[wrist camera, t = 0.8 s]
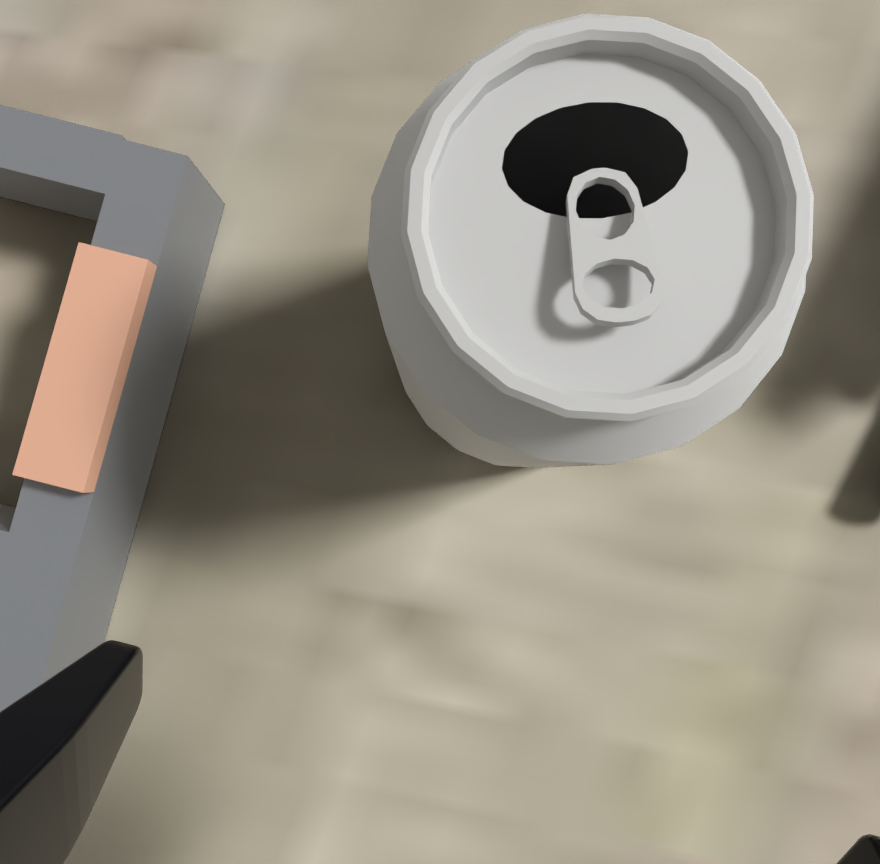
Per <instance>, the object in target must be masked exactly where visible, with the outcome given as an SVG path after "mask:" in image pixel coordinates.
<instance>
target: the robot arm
mask: <svg viewBox="0 0 880 864" xmlns="http://www.w3.org/2000/svg"><path fill="white" fill-rule="evenodd" d="M142 671H143V656H142V651H141V649H140V648H139V647H137V646H134V645H130V644H126V643H122V642H118V641H113V640H110V641H106V642H104V643H102V644H100V645H99V646H97V647H96V648H94V649H93V650H91V651H90V652H88V653H87V654H85V655H84V656H82V657H81V658H79V659H78V660H76V661H75V662H73V663H72V664H70V665H69V666H67V667H66V668H65V669H63V670H62V671H60V672H59V673H57V674H56V675H54V676H53V677H51V678H50V679H48V680H47V681H45V682H44V683H42V684H41V685H39V686H38V687H36V688H35V689H33V690H32V691H30V692H29V693H27V694H26V695H24V696H23V697H21V698H20V699H18V700H17V701H15V702H14V703H12V704H11V705H10V706H8V707H7V708H5V709H4V710H2V711H1V712H0V864H63V863H64V862H65V860H66V858H67V857H68V855H69V853H70V851H71V850H72V848H73V846H74V844H75V842H76V840H77V839H78V837H79V835H80V833H81V831H82V829H83V827H84V825H85V823H86V821H87V819H88V817H89V815H90V812H91V810H92V808H93V806H94V804H95V801H96V799H97V797H98V795H99V793H100V790H101V788H102V786H103V784H104V782H105V779H106V777H107V775H108V773H109V771H110V769H111V766H112V764H113V762H114V760H115V758H116V755H117V753H118V751H119V749H120V747H121V744H122V742H123V740H124V738H125V736H126V733H127V731H128V729H129V727H130V725H131V722H132V720H133V718H134V716H135V714H136V711H137V709H138V706H139V703H140V700H141V696H142ZM837 864H880V837H879V836H875V835H869V834H868V835H864V836H862V837H861V838H860V839H858V841H857V842H856V843H855V844H854V845H853V846H852V847H851V848H850V849H849V851H848V852H847V853H846V854H845V855H844V856H843V857H842V858H841V859H840V860H839V862H838V863H837Z"/></svg>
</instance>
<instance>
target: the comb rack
mask: <svg viewBox="0 0 880 864" xmlns="http://www.w3.org/2000/svg"><path fill="white" fill-rule="evenodd" d="M0 197H3V198H7V199H11V200H15V201H19V202H23V203H27V204H31V205H35V206H39V207H43V208H47V209H51V210H54V211H58V212H62V213H66V214H70V215H74V216H78V217H82V218H86V219H90V220H94V221H97V225H96V228H95V232H94V235H93V239H92V242H91V245H88V244H84V243H80V242H79V243H78V246H77V250H76V253H75V257H74V260H73V264H72V267H71V271H70V274H69V278H68V281H67V285H66V288H65V292H64V295H63V299H62V302H61V306H60V309H59V313H58V316H57V320H56V323H55V327H54V330H53V334H52V337H51V341H50V344H49V348H48V351H47V355H46V358H45V362H44V365H43V369H42V372H41V376H40V379H39V383H38V386H37V390H36V393H35V397H34V400H33V404H32V407H31V411H30V414H29V418H28V421H27V425H26V428H25V432H24V435H23V439H22V442H21V446H20V449H19V453H18V456H17V460H16V463H15V467H14V470H13V474H12V475H15V476H19V477H23V478H24V481H23V485H22V488H21V492H20V495H19V499H18V502H17V506H16V508H14V507H10V506H6V505H3V504H0V712H1V711H2V710H4V709H5V708H7V707H8V706H10V705H11V704H12V703H14V702H15V701H17V700H18V699H20V698H21V697H23V696H24V695H26V694H27V693H29V692H30V691H32V690H33V689H35V688H36V687H38V686H39V685H41V684H42V683H44V682H45V681H47V680H48V679H50V678H51V677H53V676H54V675H56V674H57V673H59V672H60V671H62V670H63V669H65V668H66V667H67V666H69V665H70V664H72V663H73V662H75V661H76V660H78V659H79V658H81V657H82V656H84V655H85V654H87V653H88V652H90V651H91V650H93V649H94V648H96V647H97V646H99V645H100V644H102V643H104V641H105V637H106V633H107V630H108V626H109V623H110V619H111V615H112V612H113V608H114V604H115V601H116V597H117V594H118V590H119V586H120V583H121V579H122V575H123V572H124V568H125V565H126V561H127V557H128V554H129V550H130V546H131V543H132V539H133V535H134V532H135V528H136V525H137V521H138V517H139V514H140V510H141V506H142V503H143V499H144V496H145V492H146V488H147V485H148V481H149V477H150V474H151V470H152V467H153V463H154V459H155V456H156V452H157V448H158V445H159V441H160V438H161V434H162V430H163V427H164V423H165V419H166V416H167V412H168V408H169V405H170V401H171V398H172V394H173V390H174V387H175V383H176V379H177V376H178V372H179V369H180V365H181V361H182V358H183V354H184V350H185V347H186V343H187V340H188V336H189V332H190V329H191V325H192V321H193V318H194V314H195V310H196V307H197V303H198V300H199V296H200V292H201V289H202V285H203V281H204V278H205V274H206V271H207V267H208V263H209V260H210V256H211V252H212V249H213V245H214V242H215V238H216V234H217V231H218V227H219V223H220V220H221V216H222V212H223V209H224V205H225V203H224V202H223V201H222V199H221V198H220V197H219V196H218V194H217V193H216V192H215V190H214V189H213V188H212V187H211V185H210V184H209V183H208V181H207V180H206V179H205V178H204V176H203V175H202V174H201V172H200V171H199V170H198V169H197V167H196V166H195V165H194V163H193V162H192V161H191V160H190V158H189V157H188V156H186V155H182V154H178V153H174V152H170V151H166V150H162V149H158V148H154V147H150V146H146V145H142V144H138V143H134V142H130V141H127V140H126V139H125V138H124V137H123V136H122V135H118V134H114V133H110V132H106V131H102V130H98V129H94V128H91V127H87V126H83V125H79V124H75V123H71V122H67V121H63V120H59V119H55V118H51V117H47V116H43V115H39V114H35V113H31V112H27V111H24V110H20V109H16V108H12V107H8V106H4V105H0Z"/></svg>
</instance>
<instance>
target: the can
mask: <svg viewBox="0 0 880 864" xmlns="http://www.w3.org/2000/svg"><path fill="white" fill-rule="evenodd" d="M813 205H814V194H813V190H812V187H811V184H810V180H809V177H808V173H807V170H806V166H805V163H804V160H803V156H802V153H801V149H800V146H799V143H798V139H797V136H796V133H795V131H794V130H793V129H792V127H791V126H790V124H789V123H788V121H787V120H786V118H785V117H784V115H783V114H782V112H781V111H780V109H779V108H778V106H777V105H776V103H775V102H774V100H773V99H772V98H771V96H770V95H769V93H768V92H767V90H766V89H765V87H764V86H763V84H762V83H761V81H760V80H759V79H758V78H756V77H755V76H754V75H752V74H751V73H750V72H749V71H747V70H746V69H745V68H744V67H742V66H741V65H740V64H739V63H737V62H736V61H735V60H734V59H732V58H731V57H730V56H728V55H727V54H726V53H725V52H723V51H722V50H721V49H720V48H718V47H717V46H716V45H715V44H713V43H712V42H711V41H709V40H707V39H704V38H702V37H699V36H696V35H694V34H691V33H689V32H686V31H683V30H681V29H678V28H676V27H673V26H670V25H668V24H665V23H663V22H660V21H657V20H655V19H652V18H649V17H634V16H618V15H602V14H581V15H577V16H573V17H569V18H565V19H561V20H557V21H553V22H549V23H545V24H541V25H537V26H533V27H529V28H525V29H522V30H521V31H519V32H518V33H516V34H514V35H513V36H511V37H510V38H508V39H506V40H505V41H503V42H501V43H500V44H498V45H497V46H495V47H493V48H492V49H490V50H489V51H487V52H485V53H484V54H482V55H480V56H479V57H477V58H476V59H474V60H472V61H471V62H469V63H468V65H466V66H465V67H463V68H462V69H460V70H458V71H457V72H455V73H453V74H452V75H450V76H449V77H447V78H445V79H444V80H442V81H441V82H440V83H439V84H438V85H437V86H436V88H435V89H434V90H433V91H432V92H431V94H430V95H429V96H428V97H427V98H426V100H425V101H424V102H423V103H422V104H421V105H420V107H419V108H418V109H417V110H416V111H415V113H414V114H413V115H412V116H411V117H410V118H409V120H408V121H407V122H406V123H405V124H404V126H403V127H402V128H401V129H400V130H399V131H398V133H397V135H396V137H395V140H394V142H393V145H392V147H391V150H390V152H389V154H388V157H387V159H386V162H385V164H384V167H383V169H382V172H381V174H380V177H379V179H378V182H377V184H376V187H375V189H374V192H373V194H372V199H371V215H370V230H369V246H368V262H367V265H368V269H369V273H370V277H371V281H372V284H373V288H374V292H375V296H376V300H377V304H378V307H379V311H380V315H381V319H382V323H383V327H384V330H385V334H386V337H387V340H388V342H389V345H390V348H391V351H392V354H393V357H394V360H395V363H396V366H397V369H398V372H399V375H400V378H401V381H402V383H403V386H404V389H405V392H406V393H407V395H408V397H409V398H410V400H411V401H412V403H413V404H414V406H415V407H416V409H417V411H418V412H419V414H420V415H421V417H422V418H423V420H424V422H425V423H426V425H427V426H428V427H430V428H431V429H432V430H433V431H435V432H436V433H437V434H438V435H439V436H441V437H442V438H443V439H444V440H446V441H447V442H448V443H449V444H450V445H452V446H453V447H454V448H455V449H457V450H458V451H460V452H463V453H465V454H468V455H470V456H473V457H475V458H478V459H480V460H483V461H486V462H488V463H491V464H493V465H497V466H514V467H531V468H542V467H565V466H587V465H610V464H616V463H620V462H624V461H628V460H632V459H635V458H639V457H643V456H647V455H650V454H654V453H658V452H662V451H666V450H669V449H673V448H677V447H681V446H682V445H684V444H685V443H687V442H688V441H690V440H692V439H693V438H695V437H696V436H698V435H699V434H701V433H702V432H704V431H705V430H707V429H708V428H710V427H712V426H713V425H715V424H716V423H718V422H719V421H721V420H722V419H724V418H725V417H727V416H728V415H730V414H731V413H733V412H735V411H736V410H738V409H739V408H740V407H741V405H742V404H743V403H744V402H745V400H746V399H747V398H748V397H749V395H750V394H751V393H752V392H753V390H754V389H755V388H756V387H757V385H758V384H759V383H760V382H761V380H762V379H763V378H764V377H765V375H766V374H767V373H768V372H769V370H770V369H771V368H772V367H773V365H774V364H775V363H776V362H777V360H778V359H779V358H780V357H781V355H782V353H783V350H784V348H785V345H786V342H787V339H788V337H789V334H790V331H791V328H792V326H793V323H794V320H795V318H796V315H797V312H798V309H799V307H800V304H801V301H802V298H803V296H804V293H805V287H806V273H807V271H808V268H809V265H810V262H811V260H812V237H813Z"/></svg>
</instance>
